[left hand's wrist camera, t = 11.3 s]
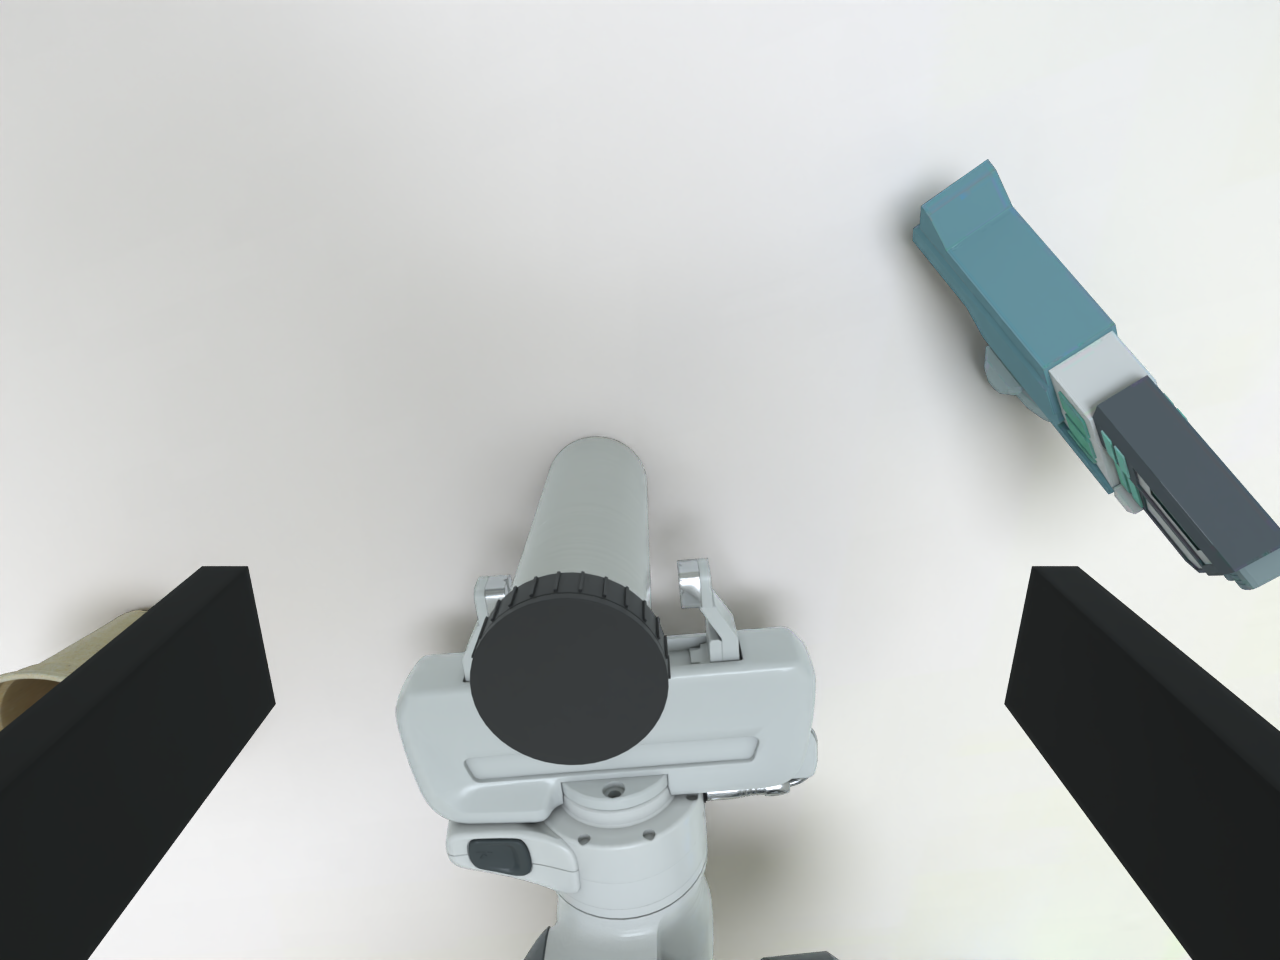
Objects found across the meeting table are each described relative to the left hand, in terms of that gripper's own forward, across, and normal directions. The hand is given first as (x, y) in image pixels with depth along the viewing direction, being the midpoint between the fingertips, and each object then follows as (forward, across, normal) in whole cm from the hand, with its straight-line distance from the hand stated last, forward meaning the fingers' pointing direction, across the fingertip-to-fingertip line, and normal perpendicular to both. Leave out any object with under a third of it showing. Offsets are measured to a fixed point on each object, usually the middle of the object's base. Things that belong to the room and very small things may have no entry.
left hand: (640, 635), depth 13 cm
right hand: (+20, +2, +9) cm, 22 cm away
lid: (+9, +2, +7) cm, 12 cm away
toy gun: (+26, -18, -1) cm, 32 cm away
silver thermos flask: (+26, +2, +7) cm, 28 cm away
